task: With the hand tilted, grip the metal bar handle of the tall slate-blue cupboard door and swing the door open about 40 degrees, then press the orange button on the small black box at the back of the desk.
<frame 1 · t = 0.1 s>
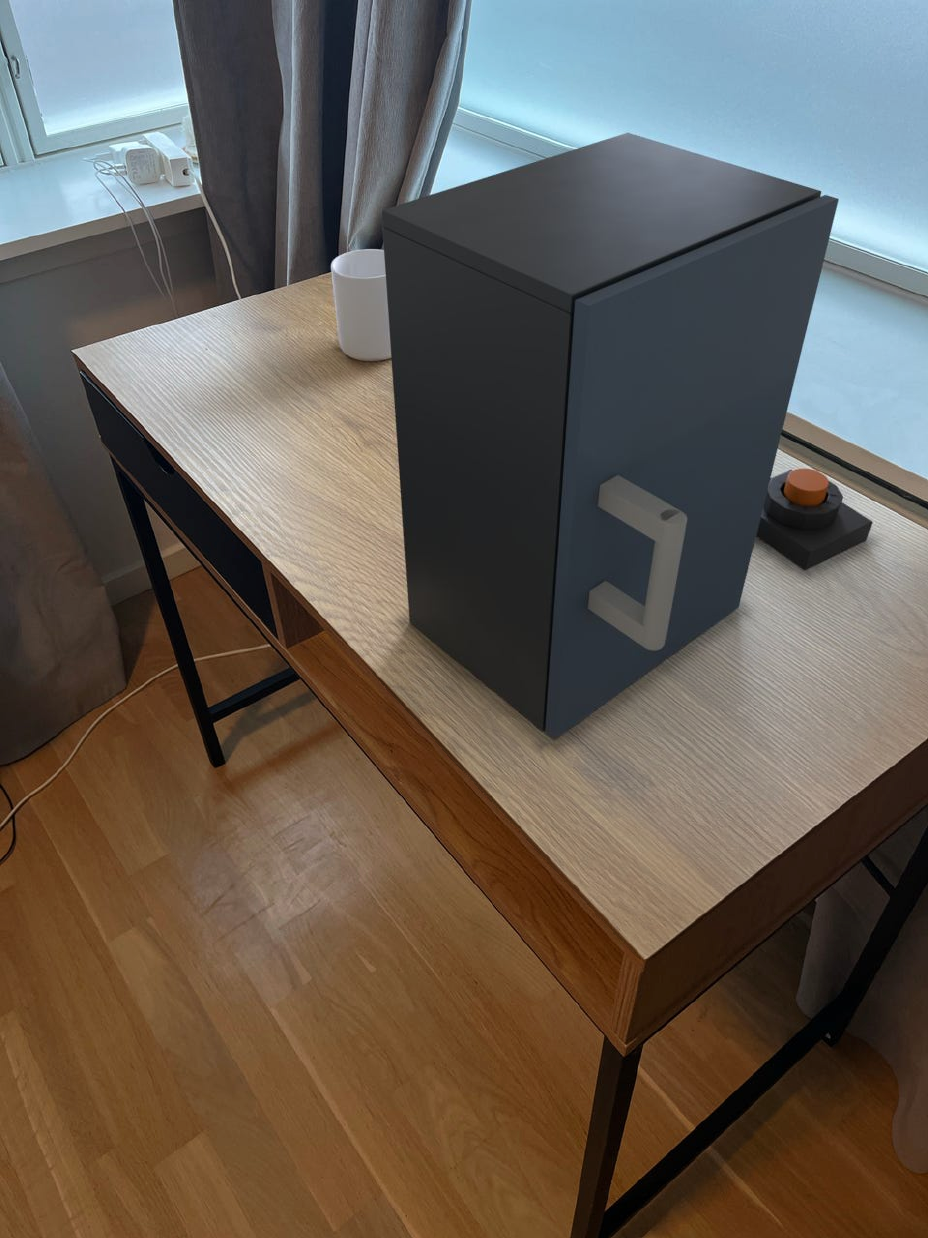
button box: (794, 527, 90), on the table
cupboard: (569, 612, 82), on the table
door: (711, 511, 64), point 17 cm above the table, hinge at 0.0°
button: (805, 487, 87), point 4 cm above the table, slide at 0.1 cm
mug: (366, 342, 118), on the table
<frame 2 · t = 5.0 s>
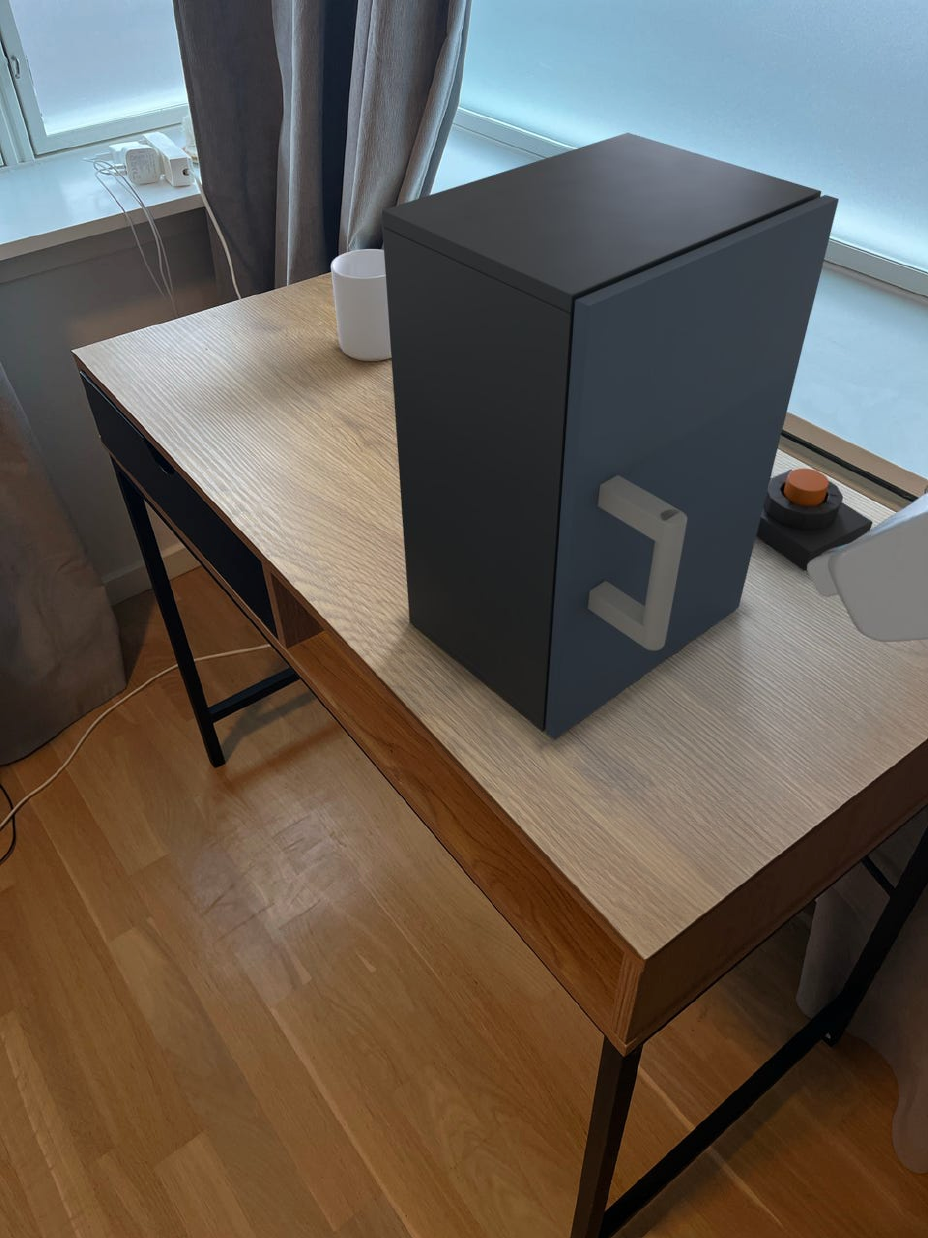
hand: (881, 534, 46), 27 cm above the table, tool tilted 45°, fingers open, 8 cm apart
nothing on the table moved.
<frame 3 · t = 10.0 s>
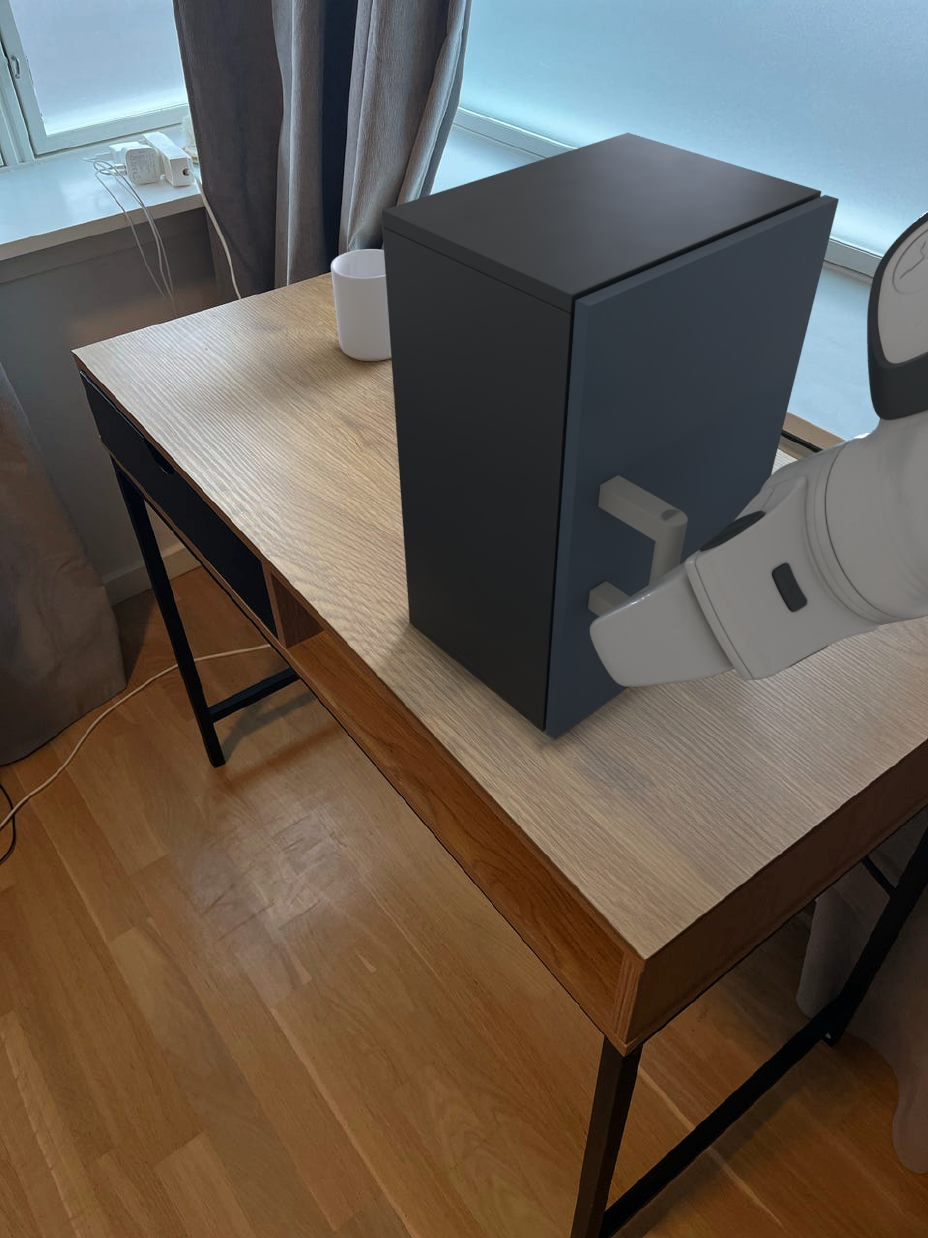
hand: (662, 591, 59), 16 cm above the table, tool tilted 45°, fingers closed on door, 2 cm apart
door: (711, 511, 64), point 17 cm above the table, hinge at 0.1°, touching gripper
everything else where it was.
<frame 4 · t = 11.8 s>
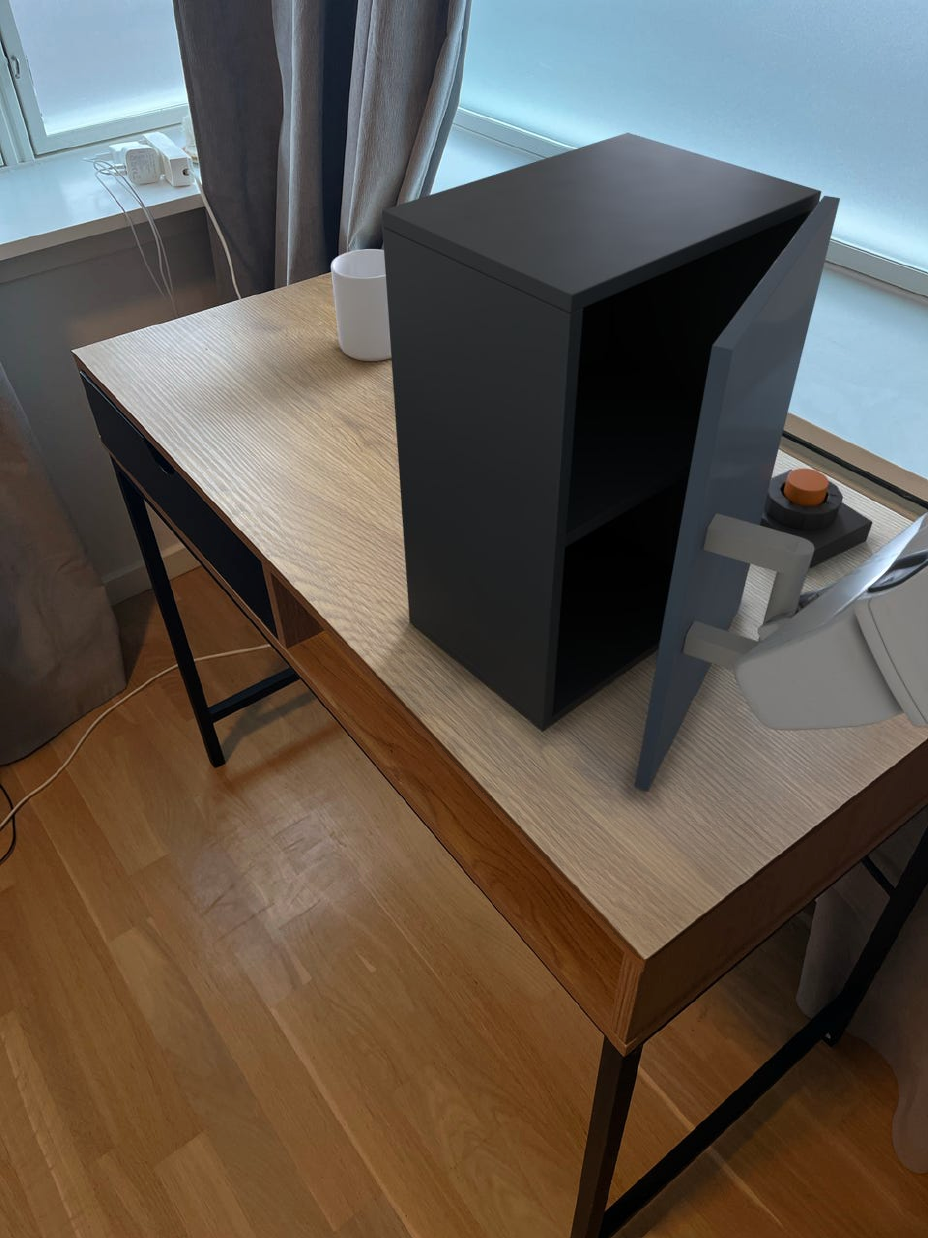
hand: (784, 623, 57), 16 cm above the table, tool tilted 45°, fingers closed on door, 2 cm apart
door: (773, 526, 63), point 17 cm above the table, hinge at 20.6°, touching gripper
everything else where it was.
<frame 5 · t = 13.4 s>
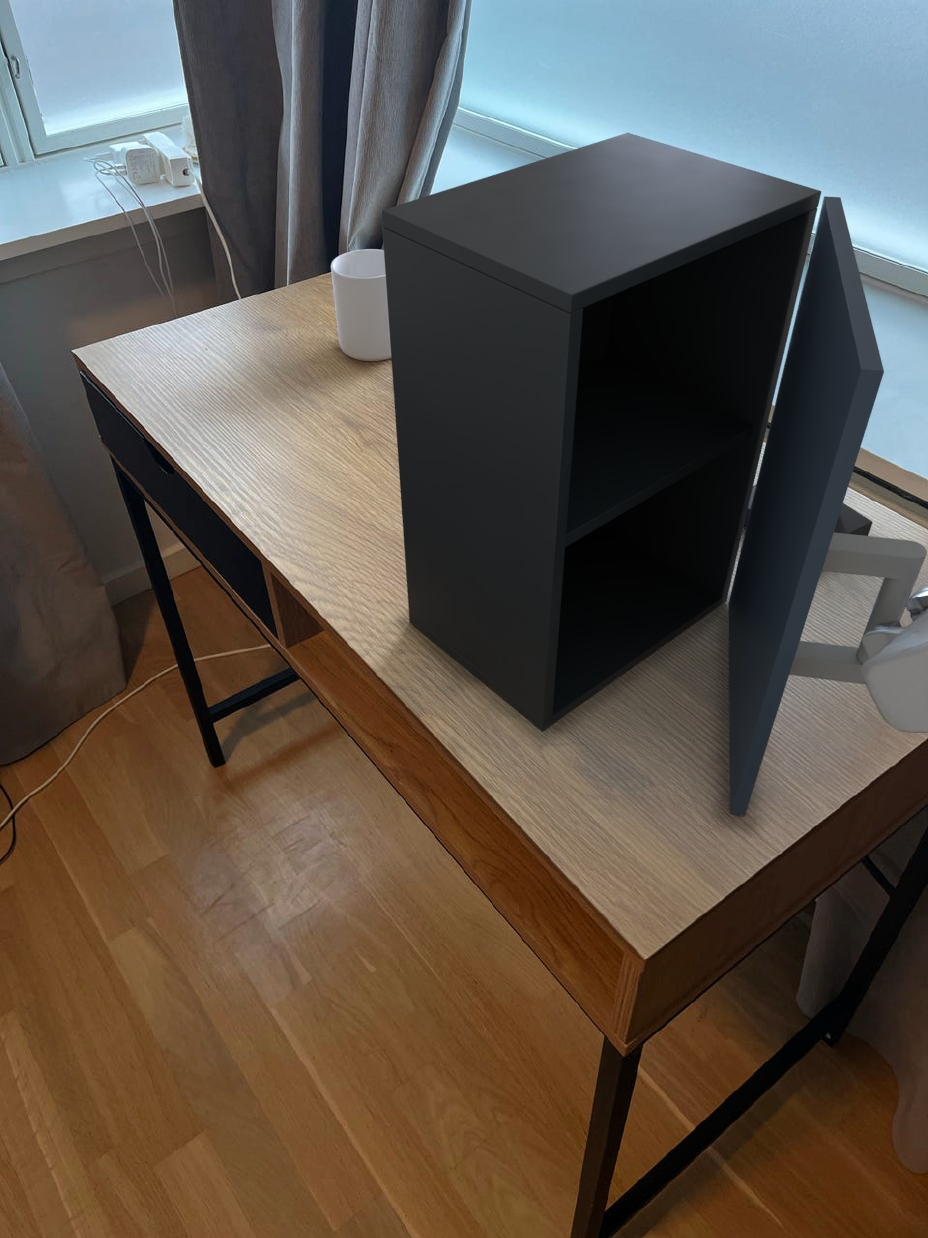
hand: (893, 625, 57), 16 cm above the table, tool tilted 45°, fingers open, 3 cm apart
door: (828, 528, 62), point 17 cm above the table, hinge at 38.1°
everything else where it was.
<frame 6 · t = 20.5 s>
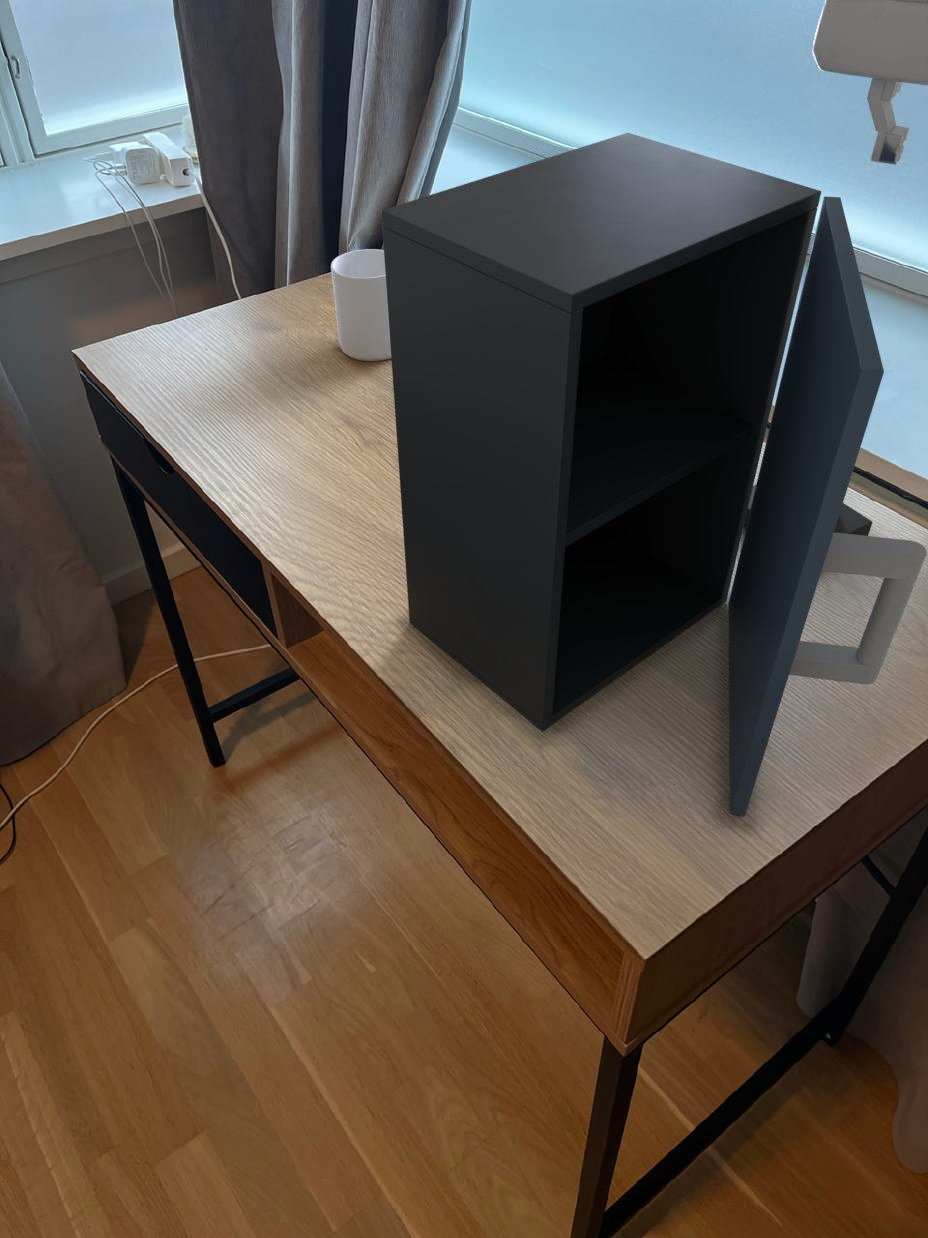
nothing on the table moved.
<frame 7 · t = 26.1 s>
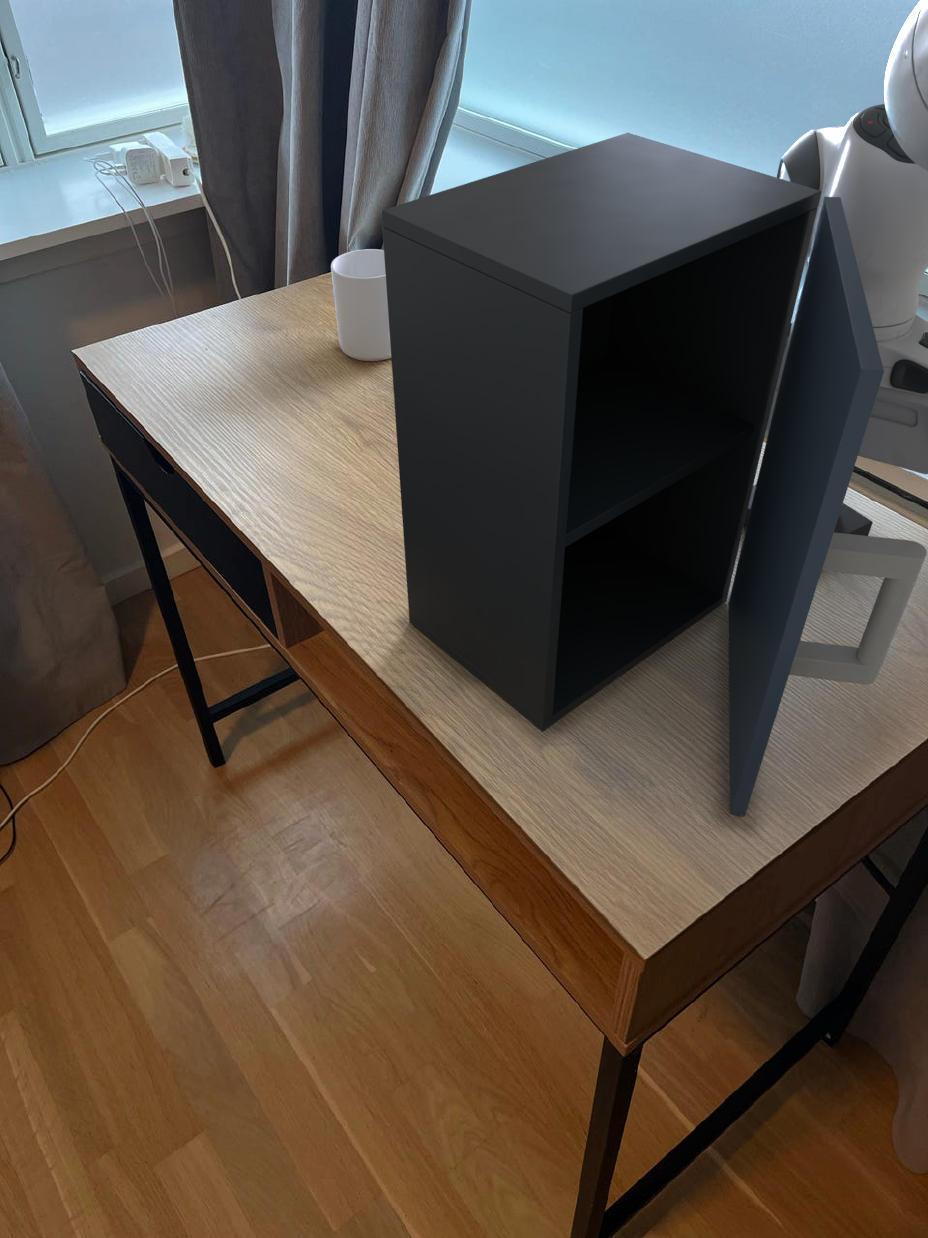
hand: (806, 480, 87), 5 cm above the table, tool pointing down, fingers closed, pressing on button
button: (805, 488, 87), point 4 cm above the table, slide at 0.0 cm, touching gripper
everything else where it was.
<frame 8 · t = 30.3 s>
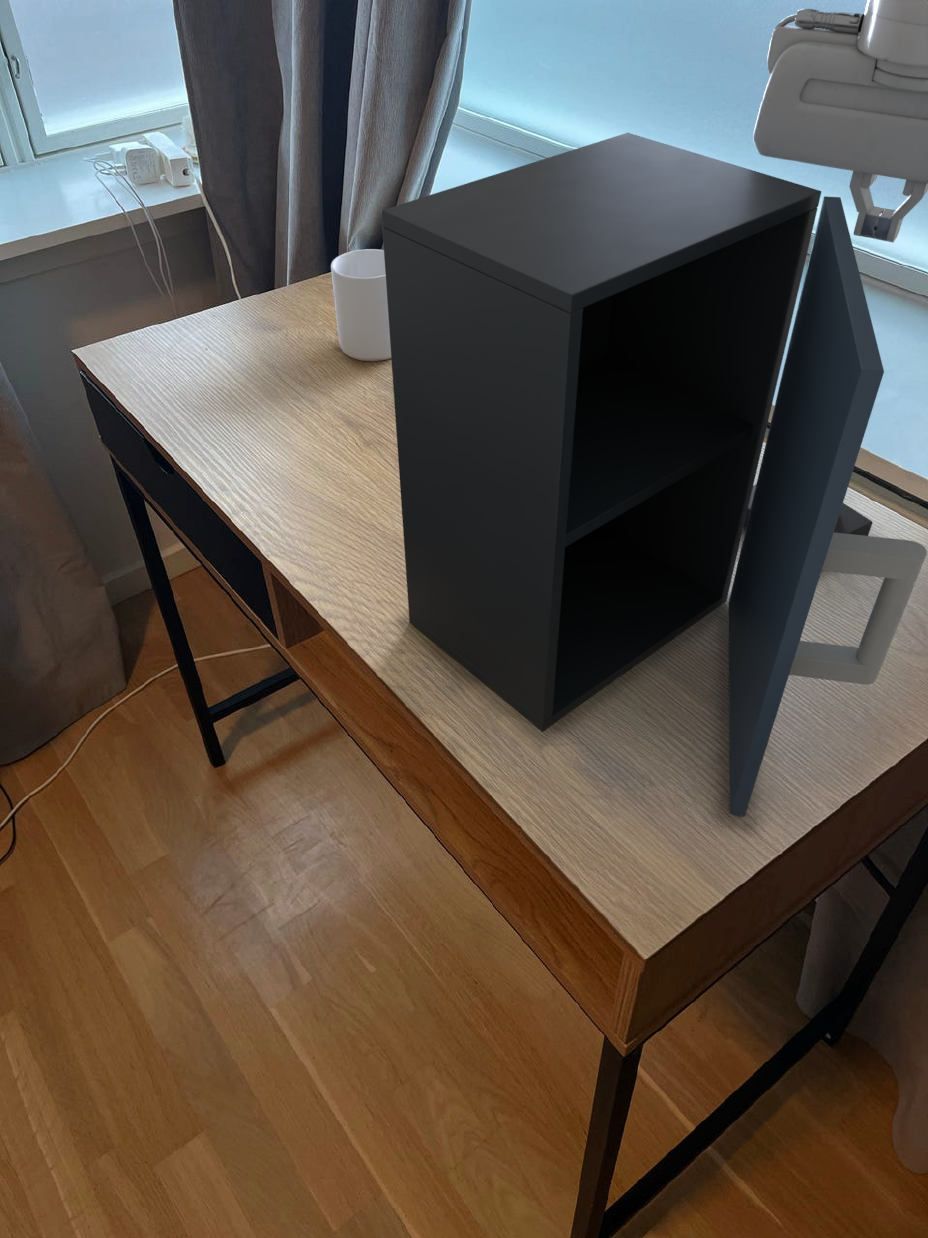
hand: (875, 236, 72), 27 cm above the table, tool pointing down, fingers closed
button: (805, 487, 87), point 4 cm above the table, slide at 0.1 cm
everything else where it was.
at the end: door at +38° (first picture: +0°); button pushed in 1.1 cm at the most during the clip, back to where it started at the end; button slide at 0.1 cm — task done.
